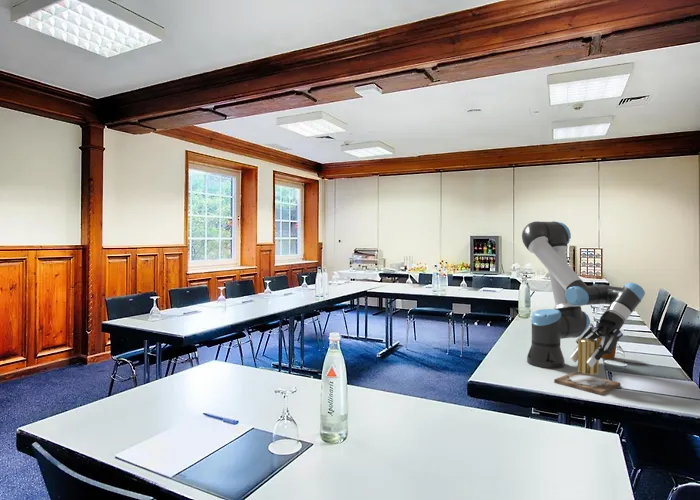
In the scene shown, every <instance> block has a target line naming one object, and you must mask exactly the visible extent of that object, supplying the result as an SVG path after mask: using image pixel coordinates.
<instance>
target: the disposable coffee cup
mask: <svg viewBox="0 0 700 500" xmlns="http://www.w3.org/2000/svg"><path fill="white" fill-rule="evenodd" d="M596 334H597V333H596ZM597 335H598V334H597ZM602 337H603V336H601V337H599V338H596V340H598V341H599V347H600V344H601V340H602ZM617 345H618V342H617V343H616V345H615V347H614V349H613V350H612V352H611V354H608V353H605V354H603V356H602V357H601V358H600V359H603V360H614V359H615V357H616V350H617Z"/></svg>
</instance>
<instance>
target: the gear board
mask: <svg viewBox="0 0 700 500" xmlns="http://www.w3.org/2000/svg"><path fill="white" fill-rule="evenodd" d="M553 381H554V383H555V384H558V385H562V386H566V387H569V388H574V389H577V390H580V391H581V390H582V391H584V392H589V393H592V394H596V395H599V396H603V395H605V394H606V393H610V392H611V391H613V390H615V389H617V388H619V387H621V385H622V384H621V382H618V381H615V380H610V379H607V378H602V377H598V376H595V375H590V374H583V373H582V372H578V371H577V372H576V371H573V372H571V373H568V374H565V375H563V376H560V377H557V378H555V379H554V380H553Z"/></svg>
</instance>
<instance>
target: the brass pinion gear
mask: <svg viewBox="0 0 700 500" xmlns="http://www.w3.org/2000/svg"><path fill="white" fill-rule="evenodd" d="M577 339H578V338H577ZM577 346H578V360H577V372H578V373H582V374H586V375H590V376H595V375H599V373H600V372H599V371H600V366H599V364H600V360H597V362H596V363H595V364H594V366H593V367H592V368H591V367H590V366H589V365H588V364H587V363H586V362H587V361H588V360H589V358H590V357H591V356H592V354H593V353H594V352H595V350H596V349H598V348H599V341H598V340H597V339H595V340H594V339H587V338H583V339H578V344H577ZM598 350H599V349H598Z"/></svg>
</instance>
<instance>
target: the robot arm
mask: <svg viewBox="0 0 700 500" xmlns="http://www.w3.org/2000/svg"><path fill="white" fill-rule="evenodd" d="M571 234H572V233H571V231H570V228H569V227H568V225H566V224H565V223H563V222H559V221H532V222H530V223H527V225H526V226H525V227H523V230H522V232H521V239H522V243H523V245H524V246H525V248H526V249H527V251H529V253H530V254H531V253H532V254H534V255H535V256H536V258H537V259H538V260H539V261H540V262H541V264H542V265H544V267H545V268H546V269H547V271H548V275H549V279H550V283H551V284H550V285H551V289H552V294H553V299H554V307H553V308H542V309H538V310H535V311H534V312H532V315H531V320H530V322H531V344H530V347H529V351H528V353H527V355H526V362H527V363H528V364H530V365H532V366H535V367H539V368H546V369H561V368H563V367H565V357H564V354H563V350H562V348H561V339H572V338H573V339H574V338H575V339H576V338H577V339H576V340H575V342H576V344H577V345H576V347H575V349H574V350H573V353H572V354H571V355H570V359H571V360H572V361H573V362H574V363H577V362H578V339H583V338H587V339H594V340H597V338H599V337H601V336H603V337H602V340H601V344H600V347H599V348H598V349H599V350H598V349H596V350H595V352H594V353H593V354H592V356H591V357H590V358H589V360H588V361H587V362H586V363H587V364H588V365H589V366H590V367H591V368H592V367H593V366H594V364H595V363H596V362H597V360H599V361H600V360H601V359H602V358H601V357H602V356H603V354H605V353H608V354H611V352H612V350H613V349H614V347H615V345H616V343H617V344H618V341H619V340H620V339H621V338H622V337H623V335H624V333H623V332H622V331H621V328H622V327H623V326H624V325H625V323H626V321H627V320H628V319H629V318H630V317H631V315H632V314H633V312H634V311H635V309H636V308H637V307H638V305H639V304H640V303H641V302H642V300H643V299H644V297H645V295H646V292H645V289H644V288H643V287H642V286H641V285H639V284H638V283H635V282H627V283H626V284H624V285H623V287H619V286H612V285H608V284H607V285H606V284H603V283H600V284H599V283H595V284H592V285H587V284H586V283H585V282H584V281H583V280H582V279H581V277H579V275H578V274H577V273H576V271H574V269H573V268H572V267H570V265H569V264H568V259H567V255H566V251H567V249H568V248H569V246H568V244H569V243H570V241H571V237H572V235H571ZM604 304H605V305H608V307H607V308H606V310H605V311H604V312H603V313H602V315H601V316H600V318H599V322H598V323H596V324H593V323H592V322H591V319H590V315H588V314H587V313H586V312H585V311H583V310H582V307H583V306H589V305H604ZM596 333H597V334H598V335H597V334H596Z"/></svg>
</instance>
